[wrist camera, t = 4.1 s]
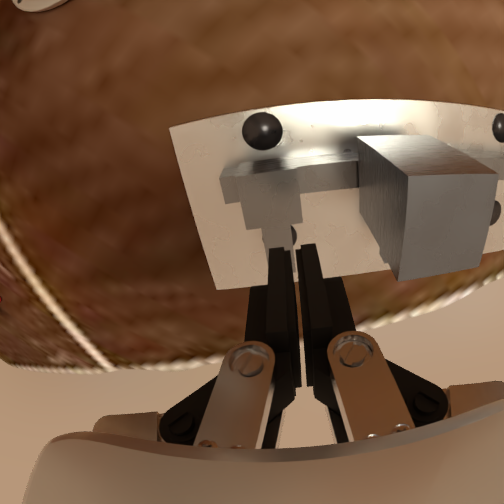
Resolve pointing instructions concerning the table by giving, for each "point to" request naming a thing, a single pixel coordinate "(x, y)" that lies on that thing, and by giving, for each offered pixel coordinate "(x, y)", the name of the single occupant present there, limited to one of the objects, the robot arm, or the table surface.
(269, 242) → the divider rail
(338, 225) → the hole plate
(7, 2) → the table surface
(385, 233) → the slider block
